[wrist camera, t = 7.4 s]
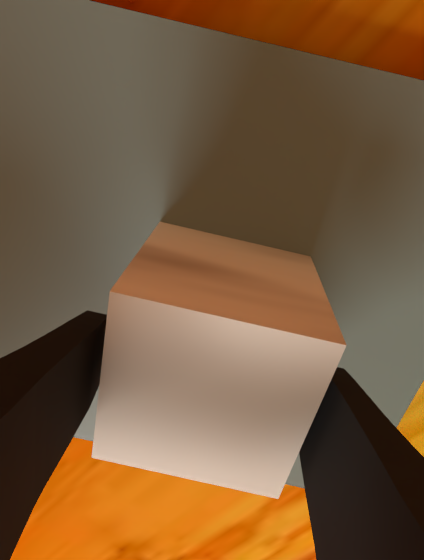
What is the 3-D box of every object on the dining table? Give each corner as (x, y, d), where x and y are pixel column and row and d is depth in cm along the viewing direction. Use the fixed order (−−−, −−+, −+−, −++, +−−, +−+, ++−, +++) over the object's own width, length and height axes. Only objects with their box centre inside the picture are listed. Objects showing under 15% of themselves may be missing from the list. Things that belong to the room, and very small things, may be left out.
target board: (348, 475, 18) (354, 499, 17) (15, 401, 18) (0, 420, 17) (544, 115, 11) (576, 117, 10) (8, -14, 11) (-18, -26, 10)
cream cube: (268, 375, 15) (277, 498, 10) (139, 346, 15) (91, 457, 10) (310, 256, 12) (346, 345, 8) (160, 221, 12) (109, 291, 8)
